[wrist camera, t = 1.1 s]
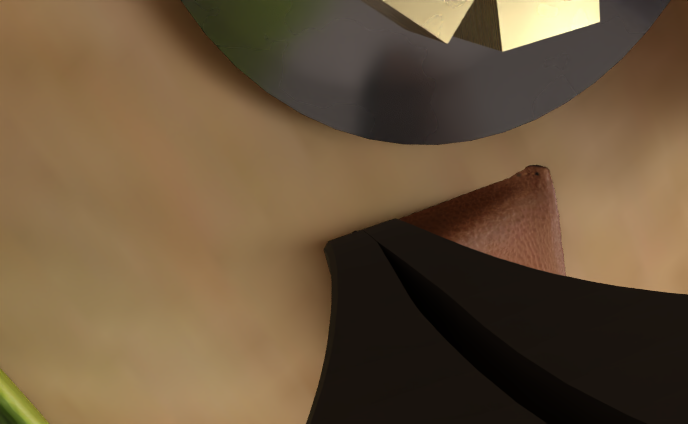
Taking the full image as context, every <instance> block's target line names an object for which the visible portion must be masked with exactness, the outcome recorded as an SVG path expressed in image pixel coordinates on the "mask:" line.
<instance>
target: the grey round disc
mask: <svg viewBox="0 0 688 424" xmlns="http://www.w3.org/2000/svg"><path fill="white" fill-rule="evenodd" d="M181 1H182V2H183V4H184V5H185V7H186V8H187V9H188V11H189V12H190V13H191V15H192V16H193V18H194V19H195V20H196V22H197V23H198V24H199V26H200V27H201V29H202V30H203V31H204V33H205V34H206V35H207V36H208V37H209V38H210V39H211V40H212V41H213V43H214V44H215V45H216V46H217V47H218V48H219V49H220V50H221V51H222V52H223V53H224V54H225V55H226V56H227V58H228V59H229V60H230V61H231V62H232V63H233V64H234V65H235V66H236V67H237V68H238V69H240V70H241V71H242V72H243V73H244V74H246V75H247V76H248V77H249V78H251V79H252V80H253V81H254V82H255V83H257V84H258V85H259V86H260V87H261V88H263V89H264V90H265V91H266V92H267V93H269V94H271V95H272V96H274V97H275V98H277V99H279V100H280V101H282V102H283V103H285V104H287V105H288V106H290V107H291V108H293V109H295V110H296V111H298V112H299V113H301V114H303V115H305V116H308V117H310V118H312V119H314V120H316V121H319V122H321V123H323V124H325V125H327V126H330V127H332V128H334V129H337V130H340V131H344V132H347V133H350V134H354V135H357V136H361V137H364V138H367V139H372V140H379V141H385V142H392V143H398V144H420V145H440V144H448V143H456V142H464V141H472V140H476V139H479V138H483V137H487V136H491V135H495V134H499V133H503V132H506V131H508V130H511V129H513V128H516V127H518V126H521V125H523V124H526V123H528V122H531V121H533V120H536V119H537V118H539V117H541V116H543V115H545V114H547V113H548V112H550V111H552V110H554V109H556V108H558V107H559V106H561V105H563V104H565V103H567V102H568V101H569V100H571V99H572V98H574V97H575V96H576V95H578V94H579V93H581V92H582V91H584V90H585V89H586V88H588V87H589V86H591V85H592V84H593V83H595V82H596V81H597V80H598V79H599V78H601V77H602V76H603V75H604V74H605V73H606V72H607V71H609V70H610V69H611V68H612V67H613V66H614V65H615V64H616V63H618V62H619V61H620V60H621V59H622V58H623V57H624V56H625V55H626V54H627V53H628V52H629V50H630V49H631V48H632V47H633V46H634V45H635V44H636V43H637V42H638V41H639V40H640V39H641V37H642V36H643V35H644V34H645V33H646V32H647V31H648V30H649V28H650V27H651V26H652V24H653V23H654V22H655V20H656V19H657V18H658V16H659V15H660V14H661V12H662V11H663V10H664V8H665V7H666V6H667V4H668V3H669V2H670V0H599V12H600V22H598V23H594V24H591V25H588V26H585V27H581V28H578V29H575V30H572V31H568V32H565V33H562V34H559V35H555V36H552V37H549V38H546V39H542V40H539V41H536V42H533V43H529V44H526V45H523V46H520V47H516V48H513V49H510V50H507V51H503V52H502V51H498V50H495V49H492V48H489V47H485V46H482V45H479V44H476V43H472V42H469V41H466V40H463V39H459V38H456V37H453V36H452V37H451V39H450V41H449V42H448V44H446V43H443V42H440V41H437V40H434V39H431V38H428V37H425V36H422V35H419V34H416V33H413V32H410V31H407V30H405V29H403V28H402V27H400V26H399V25H397V24H396V23H394V22H393V21H391V20H390V19H388V18H386V17H385V16H383V15H382V14H380V13H379V12H377V11H376V10H374V9H373V8H371V7H370V6H368V5H367V4H365V3H364V2H362V1H361V0H181Z"/></svg>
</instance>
